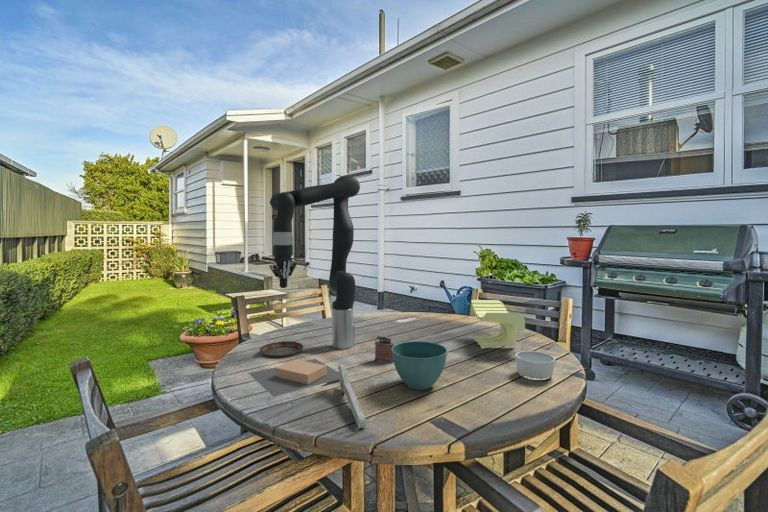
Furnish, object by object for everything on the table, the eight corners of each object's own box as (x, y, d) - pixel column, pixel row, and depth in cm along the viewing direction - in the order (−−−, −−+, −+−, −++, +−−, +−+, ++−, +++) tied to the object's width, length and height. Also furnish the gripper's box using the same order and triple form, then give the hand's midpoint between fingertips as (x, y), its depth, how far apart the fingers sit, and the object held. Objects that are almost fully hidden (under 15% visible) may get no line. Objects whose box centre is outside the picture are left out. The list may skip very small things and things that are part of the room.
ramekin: (555, 385, 128) (556, 364, 128) (514, 379, 133) (514, 360, 133) (553, 371, 141) (554, 352, 140) (515, 367, 145) (515, 349, 145)
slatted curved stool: (524, 355, 159) (525, 312, 158) (485, 355, 160) (486, 312, 158) (503, 335, 189) (504, 300, 188) (470, 335, 190) (471, 299, 188)
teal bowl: (432, 401, 116) (432, 361, 115) (381, 388, 125) (381, 351, 124) (454, 381, 131) (455, 346, 130) (407, 371, 140) (408, 338, 140)
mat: (315, 361, 151) (315, 358, 151) (347, 380, 132) (347, 377, 132) (248, 375, 136) (248, 373, 136) (273, 399, 117) (273, 396, 117)
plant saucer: (292, 362, 150) (292, 355, 150) (251, 359, 154) (251, 352, 154) (309, 349, 168) (309, 342, 168) (272, 346, 171) (272, 340, 171)
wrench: (359, 440, 99) (337, 384, 128) (365, 439, 100) (342, 383, 128) (359, 412, 98) (337, 361, 126) (366, 411, 99) (343, 360, 127)
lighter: (395, 361, 152) (395, 336, 151) (391, 363, 149) (392, 338, 148) (377, 358, 155) (377, 334, 154) (373, 361, 152) (373, 336, 151)
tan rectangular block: (276, 367, 132) (308, 375, 125) (295, 359, 140) (326, 365, 134) (276, 377, 132) (308, 385, 125) (295, 368, 141) (326, 375, 134)
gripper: (278, 244, 143) (278, 290, 144) (301, 243, 155) (302, 286, 156) (263, 244, 146) (264, 289, 147) (287, 243, 158) (288, 285, 159)
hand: (283, 287), depth 152 cm, fingers closed
